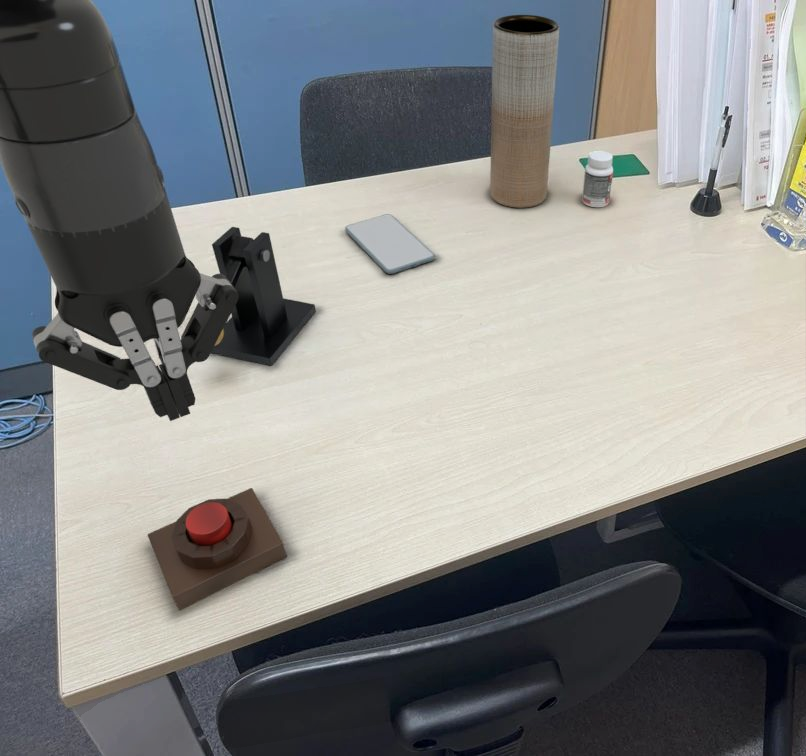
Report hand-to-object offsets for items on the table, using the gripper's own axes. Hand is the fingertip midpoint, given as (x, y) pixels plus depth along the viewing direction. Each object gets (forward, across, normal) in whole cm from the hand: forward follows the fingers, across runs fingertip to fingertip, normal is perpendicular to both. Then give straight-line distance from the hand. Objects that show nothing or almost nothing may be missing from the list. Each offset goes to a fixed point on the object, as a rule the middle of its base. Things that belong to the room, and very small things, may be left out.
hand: (176, 411), depth 52 cm
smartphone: (+20, -40, -43) cm, 62 cm away
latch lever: (+12, -12, -30) cm, 35 cm away
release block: (+20, +1, -3) cm, 21 cm away
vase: (+20, -67, -46) cm, 83 cm away
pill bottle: (+20, -77, -37) cm, 87 cm away
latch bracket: (+20, -16, -33) cm, 42 cm away
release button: (+17, +1, -3) cm, 17 cm away
